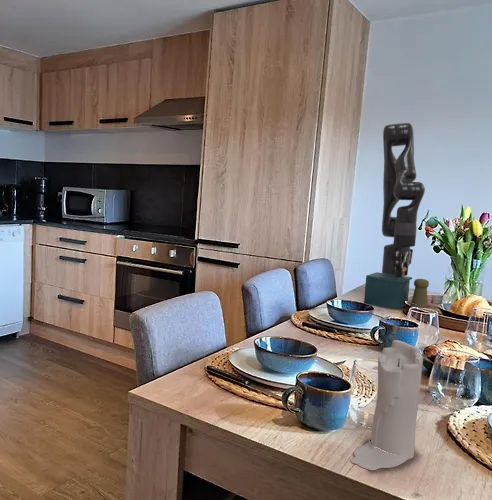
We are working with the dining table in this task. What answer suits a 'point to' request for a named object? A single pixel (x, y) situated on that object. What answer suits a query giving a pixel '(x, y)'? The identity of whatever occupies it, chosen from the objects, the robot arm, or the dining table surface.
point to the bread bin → (386, 293)
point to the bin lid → (390, 276)
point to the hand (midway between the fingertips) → (401, 276)
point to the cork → (420, 293)
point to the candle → (394, 408)
